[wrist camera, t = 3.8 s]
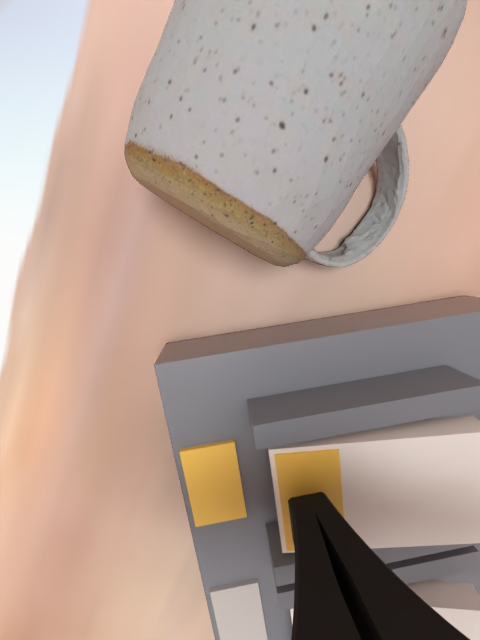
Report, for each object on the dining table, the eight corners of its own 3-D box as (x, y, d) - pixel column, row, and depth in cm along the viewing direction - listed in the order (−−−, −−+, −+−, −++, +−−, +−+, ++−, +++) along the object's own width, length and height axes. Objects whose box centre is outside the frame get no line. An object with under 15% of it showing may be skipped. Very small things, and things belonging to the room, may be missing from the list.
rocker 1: (472, 415, 11) (495, 432, 10) (467, 519, 12) (487, 545, 11) (267, 433, 12) (268, 451, 11) (280, 530, 13) (282, 554, 12)
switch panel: (463, 295, 15) (581, 312, 10) (451, 660, 21) (521, 779, 16) (166, 343, 14) (141, 386, 9) (242, 708, 20) (251, 849, 16)
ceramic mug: (139, 195, 13) (40, 111, 5) (224, 10, 12) (250, -428, 4) (328, 303, 15) (447, 351, 7) (417, 156, 14) (666, 36, 6)
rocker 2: (472, 583, 12) (489, 614, 11) (468, 663, 13) (483, 697, 12) (287, 571, 14) (288, 597, 13) (297, 644, 15) (298, 673, 14)
